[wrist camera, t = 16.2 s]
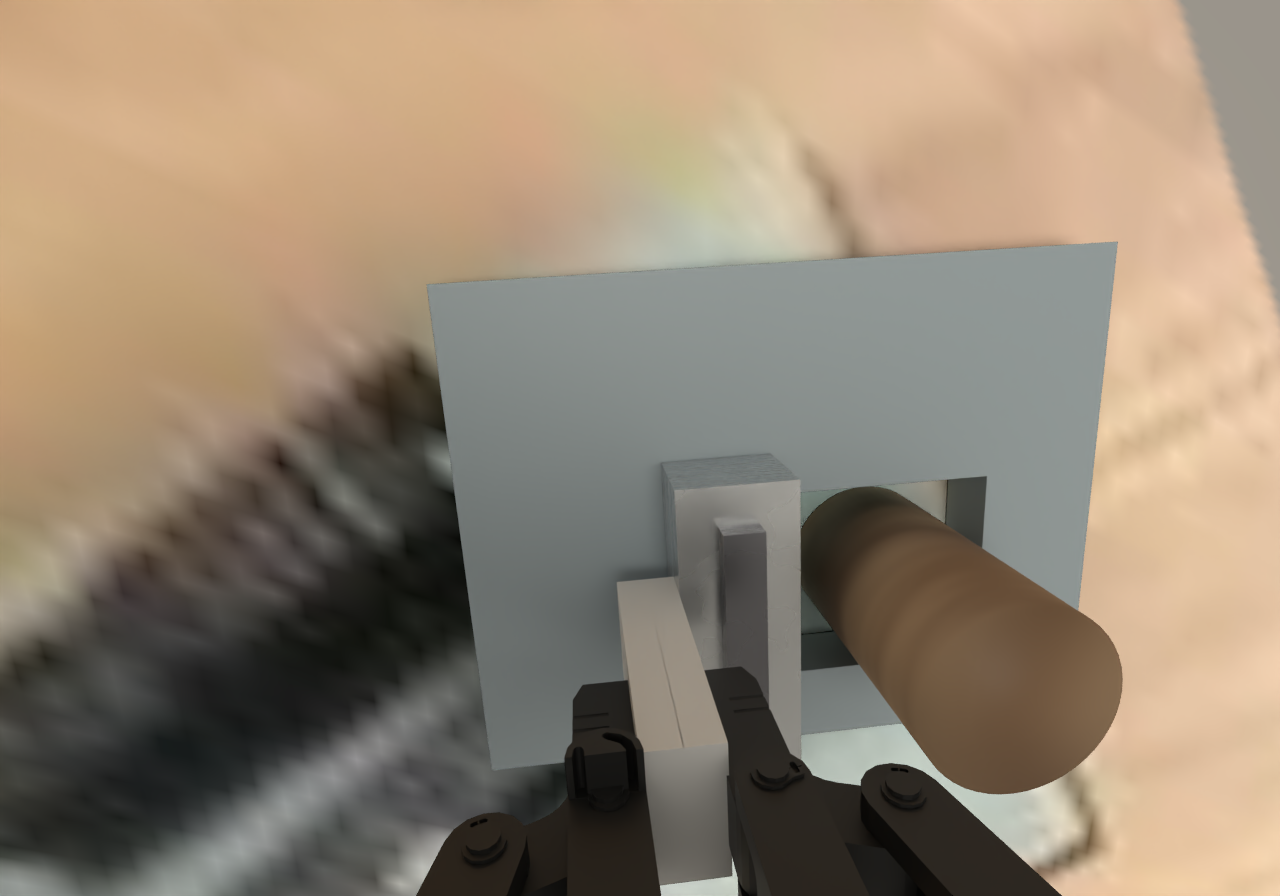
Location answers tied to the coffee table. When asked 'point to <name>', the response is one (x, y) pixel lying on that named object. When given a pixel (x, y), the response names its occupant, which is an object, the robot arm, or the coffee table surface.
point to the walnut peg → (960, 643)
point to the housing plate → (752, 436)
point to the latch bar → (741, 571)
